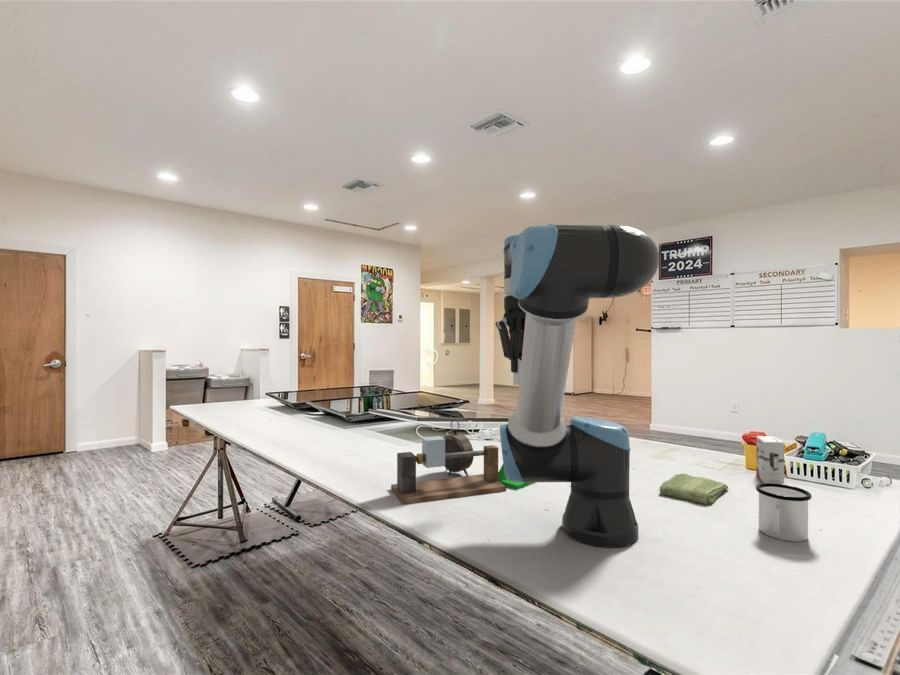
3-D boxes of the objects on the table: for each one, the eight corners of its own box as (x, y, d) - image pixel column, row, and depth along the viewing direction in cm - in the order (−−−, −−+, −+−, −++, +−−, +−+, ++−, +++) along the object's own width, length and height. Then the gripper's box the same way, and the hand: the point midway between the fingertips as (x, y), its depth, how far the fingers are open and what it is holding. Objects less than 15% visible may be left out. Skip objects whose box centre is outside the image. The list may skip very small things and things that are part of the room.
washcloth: (730, 491, 125) (730, 479, 125) (710, 508, 113) (710, 495, 113) (678, 480, 135) (678, 469, 135) (654, 495, 122) (654, 483, 122)
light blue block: (439, 462, 126) (439, 436, 126) (445, 466, 122) (445, 439, 122) (422, 464, 124) (422, 437, 124) (426, 468, 120) (426, 440, 120)
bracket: (517, 491, 125) (517, 465, 125) (494, 484, 130) (494, 460, 130) (542, 481, 133) (542, 457, 133) (520, 475, 139) (520, 452, 139)
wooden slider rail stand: (486, 477, 135) (486, 441, 135) (506, 490, 124) (506, 451, 124) (391, 489, 125) (391, 450, 125) (403, 504, 114) (403, 461, 114)
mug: (760, 520, 104) (760, 480, 104) (814, 533, 97) (814, 489, 97) (747, 537, 95) (748, 493, 95) (805, 552, 89) (806, 504, 89)
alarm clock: (474, 476, 136) (474, 420, 136) (461, 480, 132) (461, 423, 132) (448, 469, 144) (448, 416, 144) (435, 472, 140) (435, 418, 140)
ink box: (755, 474, 139) (755, 435, 139) (774, 476, 137) (774, 436, 137) (764, 483, 130) (764, 441, 130) (784, 485, 129) (785, 442, 129)
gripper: (530, 298, 130) (530, 383, 130) (489, 295, 125) (489, 384, 124) (547, 295, 123) (547, 385, 123) (504, 292, 118) (504, 387, 117)
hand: (518, 385), depth 123 cm, fingers closed
